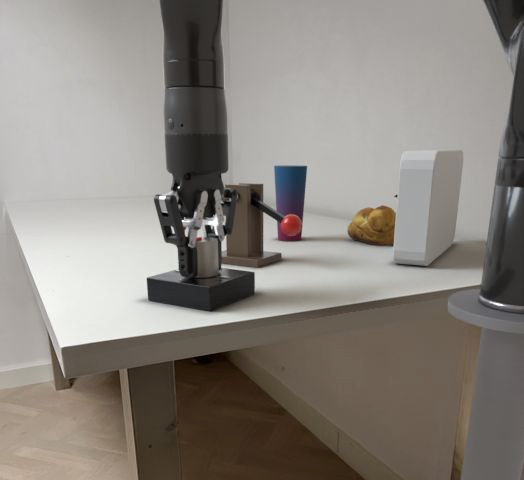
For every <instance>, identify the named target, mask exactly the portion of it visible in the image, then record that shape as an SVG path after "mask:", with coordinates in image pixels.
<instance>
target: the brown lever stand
mask: <svg viewBox="0 0 524 480" xmlns="http://www.w3.org/2000/svg"><path fill="white" fill-rule="evenodd" d="M224 187H225V188H228V189H236V190H237V193H238V194H237V202H236V209H235V215H234V222H233V229H232V233H231V235H226V236H225V239H226V243H225V244H226V245H225V246H226V249H225V250H222V253H221V254H222V256H221V257H222V263H221V264H226V265H233V266H243V267H250V268H251V267H252V268H260V267H263V266H267V265H270V264H272V263H275V262H278V261H281V260H282V256H283V255H282V252H276V251H268V250H264V212H263V211H261V210H259V209H258V208H256V207H255V206H253V205H251V189H252V190H254V191H256V192H257V193H256V196H255V198H257V199H258V200H260V201H262V202H263V203H264V183H254V182H253V183H252V182H239V183H238V184H235V183H233V184H232V183H227V184H224Z"/></svg>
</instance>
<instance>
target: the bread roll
mask: <svg viewBox="0 0 524 480" xmlns="http://www.w3.org/2000/svg"><path fill="white" fill-rule="evenodd" d="M395 221H396V211H395V210H394V209H393V208H392V207H389V206H387V205H384V204H382V205H380V206H377V207H375V208H374V207H368V206H367V207H364V208H362V209H360V210H358V211H357V212H356V213H355V215H354V216H353V217H352V220H351V222H350V223H348V225H347V229H346V230H347V235H348V236H349V238H350V239H352V240H355V241H359V242H364V243H365V244H368V245H373V246H374V245H376V246H388V245H389V246H390V245H394V234H395Z"/></svg>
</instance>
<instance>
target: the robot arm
mask: <svg viewBox="0 0 524 480" xmlns="http://www.w3.org/2000/svg"><path fill="white" fill-rule="evenodd" d="M158 1H159V9H160V18H161V25H162V26H161V27H162V36H163V37H162V73H163V74H162V75H163V88H164V90H163V108H162V109H163V111H162V112H163V114H162V115H163V133H164V134H163V135H164V150H165V168H166V171H167V172H168V173H169V174H171V175H172V183H171V186H170V191H168V192H167V193H164V194H155V195H154V197H153V203H154V206H155V210H156V214H157V218H158V223H159V226H160V229H161V232H162V236H163V240H164V242H165V243H166V244H171V245H173V246H175V247H176V248H177V249H176V250H177V264H178V269H179V271H180V274H181V276H182V277H188V278H193V277H196V276H197V255H196V248H194V247H195V245H196V238H197V237H198V231H199V230H201V229H202V232H203V237H213V238H217V239H218V266H219V270H220V269H221V268H222V264H223V263H222V257H221V256H222V254H221V253H222V251H223V249H222V248H223V247H222V242H223V241H224V240H225V239H226V235H231V233H232V229H233V222H234V215H235V209H236V202H237V194H238V193H237V190H236V189H228V188H225V184H224V181H223V178H222V175H223V174H226V173H227V172H228V171H229V121H228V119H229V118H228V117H229V116H228V115H229V114H228V105H227V97H226V90H225V89H226V75H225V74H226V73H225V72H226V70H225V68H226V67H225V53H224V52H225V51H224V44H223V29H222V28H223V12H224V11H223V10H224V0H158ZM481 2H482V4H483V6H484V8H485V10H486V13H487V14H488V16H489V20H490V21H491V24H492V26H493V29H494V31H495V34H496V37H497V39H498V41H499V43H500V47H501V49H502V51H503V54H504V56H505V59H506V62H507V65H508V67H509V70H510V72H511V74H512V76H513V79H512V83H511V84H512V85H511V91H510V92H511V93H510V100H509V106H508V111H507V115H506V119H505V123H504V127H503V131H502V133H501V137H500V141H499V149H498V156H497V157H498V159H497V164H496V171H495V179H494V187H493V194H492V201H491V209H490V215H489V223H488V230H487V236H486V237H487V238H486V245H485V250H484V251H485V252H484V260H483V265H482V266H483V267H482V273H481V275H482V276H481V281H480V285H479V289H480V292H479V296H478V302H479V303H480V304H482V305H484V306H486V307H488V308H491V309H495V310H499V311H504V312H510V313H517V314H524V0H481ZM223 223H224V224H223ZM172 228H173V229H172ZM186 230H188V231H187V235H186Z"/></svg>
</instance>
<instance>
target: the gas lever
mask: <svg viewBox="0 0 524 480" xmlns="http://www.w3.org/2000/svg"><path fill="white" fill-rule="evenodd" d="M256 193H257V192H256V191H254V190H252V189H251V205H253V206H255V207H256V208H258V209H259V210H261V211H263V214H266V215H267V216H269V217H270V218H271V219H273V220H275V221H276V222H277V221H278V222H280V223H281V229H282V231H283V232H284V233H285V234H286V235H289V236H294V235H296V234H298V233H299V232H300V230H301V228H302V229H303V224H302V222H301V220H300V218H299V217H298V216H296V215H293V214H290V215H287V216H284V215H282V214H281V213H279V212H277V211H276V209H275V208H272V207H271V206H270V205H268V204H267V203H265V202H264V201H263V202H262V201H260V200H258V199H257V198H255V196H256Z"/></svg>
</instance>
